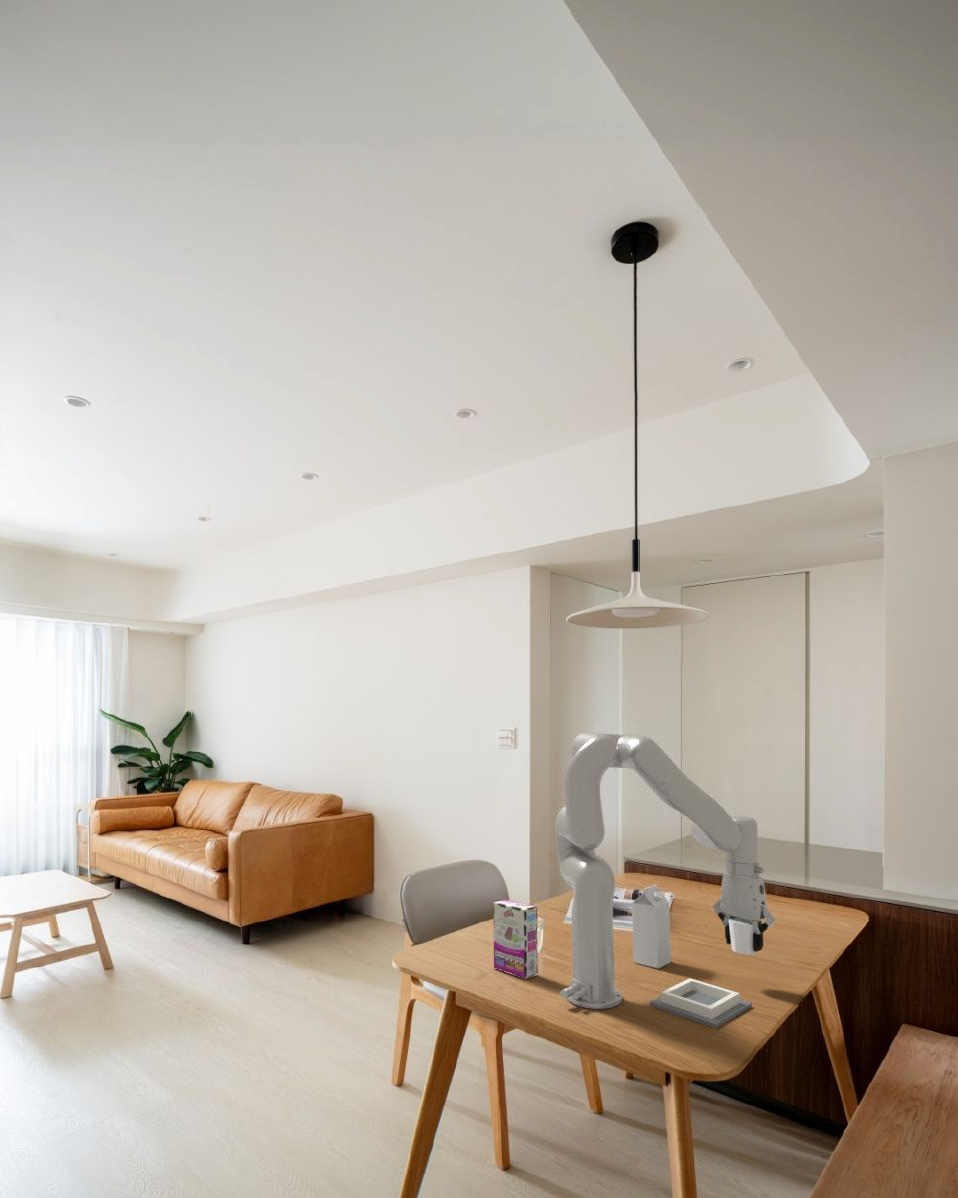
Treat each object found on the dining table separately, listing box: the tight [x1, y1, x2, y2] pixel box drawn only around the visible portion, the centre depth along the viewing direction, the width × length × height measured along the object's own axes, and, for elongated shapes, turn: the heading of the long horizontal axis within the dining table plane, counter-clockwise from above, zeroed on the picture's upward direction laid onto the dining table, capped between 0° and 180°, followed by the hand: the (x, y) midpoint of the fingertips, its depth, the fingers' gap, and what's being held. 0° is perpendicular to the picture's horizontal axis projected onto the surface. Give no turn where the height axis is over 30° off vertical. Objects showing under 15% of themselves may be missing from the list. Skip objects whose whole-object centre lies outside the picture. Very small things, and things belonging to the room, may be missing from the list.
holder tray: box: [649, 978, 753, 1029], centre depth 160 cm, size 16×16×3 cm
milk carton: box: [631, 884, 672, 970], centre depth 189 cm, size 7×7×19 cm
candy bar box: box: [493, 899, 539, 979], centre depth 182 cm, size 11×5×16 cm, turn 46°
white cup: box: [729, 917, 758, 956], centre depth 173 cm, size 7×7×7 cm
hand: (744, 946), depth 173 cm, fingers closed on white cup, 6 cm apart
